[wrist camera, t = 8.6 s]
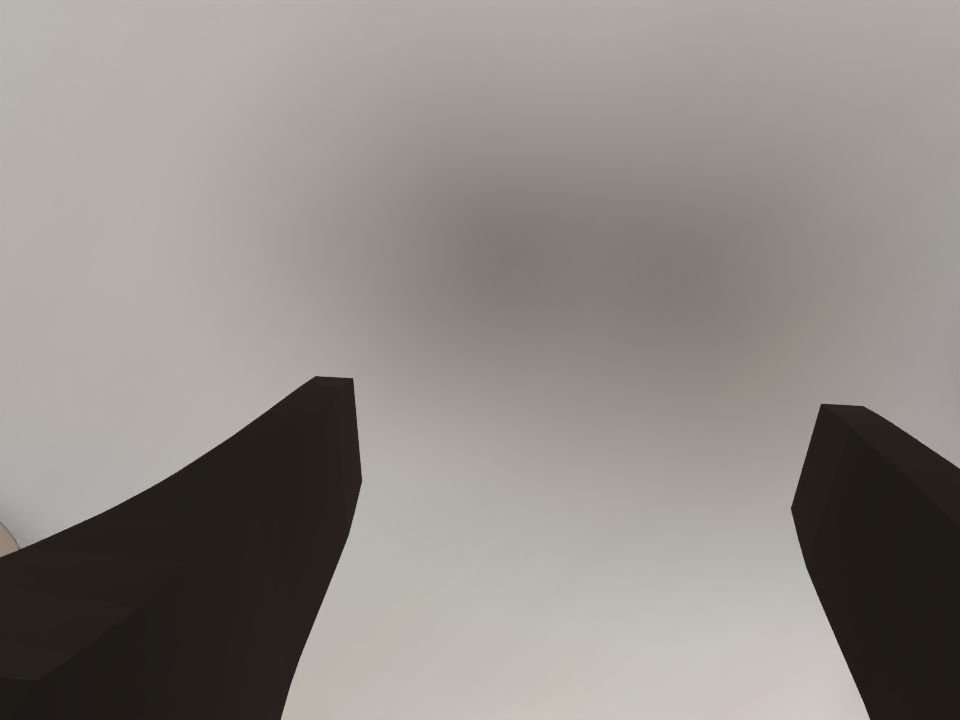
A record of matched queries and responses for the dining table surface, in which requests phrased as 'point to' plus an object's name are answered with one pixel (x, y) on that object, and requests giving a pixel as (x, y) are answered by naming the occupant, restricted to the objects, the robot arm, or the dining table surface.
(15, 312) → the dining table surface
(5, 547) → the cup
